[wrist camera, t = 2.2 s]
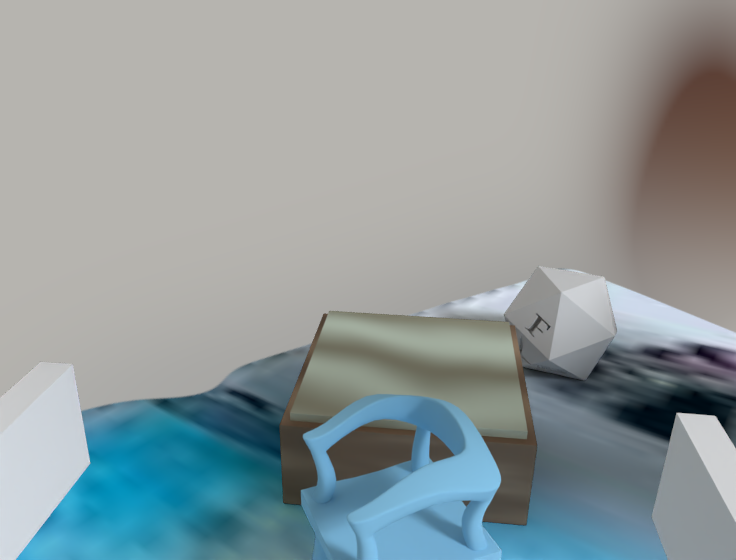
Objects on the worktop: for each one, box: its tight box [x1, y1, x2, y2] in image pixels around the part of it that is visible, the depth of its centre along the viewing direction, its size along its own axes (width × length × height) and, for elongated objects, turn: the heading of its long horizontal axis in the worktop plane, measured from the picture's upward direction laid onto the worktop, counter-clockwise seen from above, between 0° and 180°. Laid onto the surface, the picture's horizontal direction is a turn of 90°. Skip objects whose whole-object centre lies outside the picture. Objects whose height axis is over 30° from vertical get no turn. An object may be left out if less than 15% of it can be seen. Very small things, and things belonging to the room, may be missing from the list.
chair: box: [301, 394, 502, 560], centre depth 29 cm, size 8×8×12 cm
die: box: [504, 266, 617, 381], centre depth 53 cm, size 8×9×10 cm
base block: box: [280, 311, 537, 525], centre depth 44 cm, size 14×14×6 cm
